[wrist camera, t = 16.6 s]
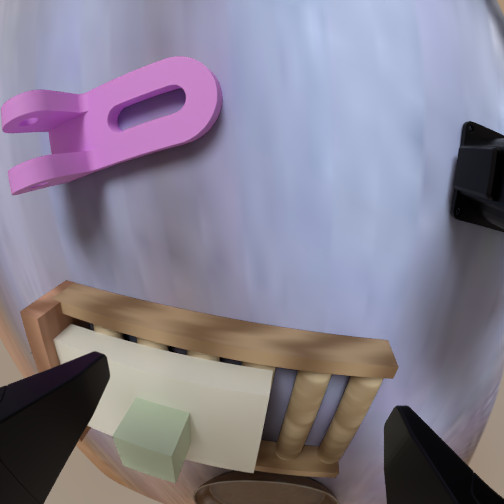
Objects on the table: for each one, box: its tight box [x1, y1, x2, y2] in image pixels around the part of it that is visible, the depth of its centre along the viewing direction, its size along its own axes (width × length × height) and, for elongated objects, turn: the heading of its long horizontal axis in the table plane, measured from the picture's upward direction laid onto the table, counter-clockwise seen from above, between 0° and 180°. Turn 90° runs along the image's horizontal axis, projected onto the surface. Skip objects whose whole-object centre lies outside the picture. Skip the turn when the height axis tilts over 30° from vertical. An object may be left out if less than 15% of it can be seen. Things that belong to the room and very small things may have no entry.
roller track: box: [20, 280, 398, 478], centre depth 21 cm, size 26×14×6 cm, turn 83°
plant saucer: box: [193, 470, 339, 504], centre depth 28 cm, size 18×18×3 cm
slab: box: [53, 324, 273, 473], centre depth 20 cm, size 16×10×2 cm, turn 85°
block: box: [113, 397, 191, 483], centre depth 17 cm, size 4×4×4 cm
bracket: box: [1, 56, 222, 195], centre depth 15 cm, size 13×6×7 cm, turn 101°
